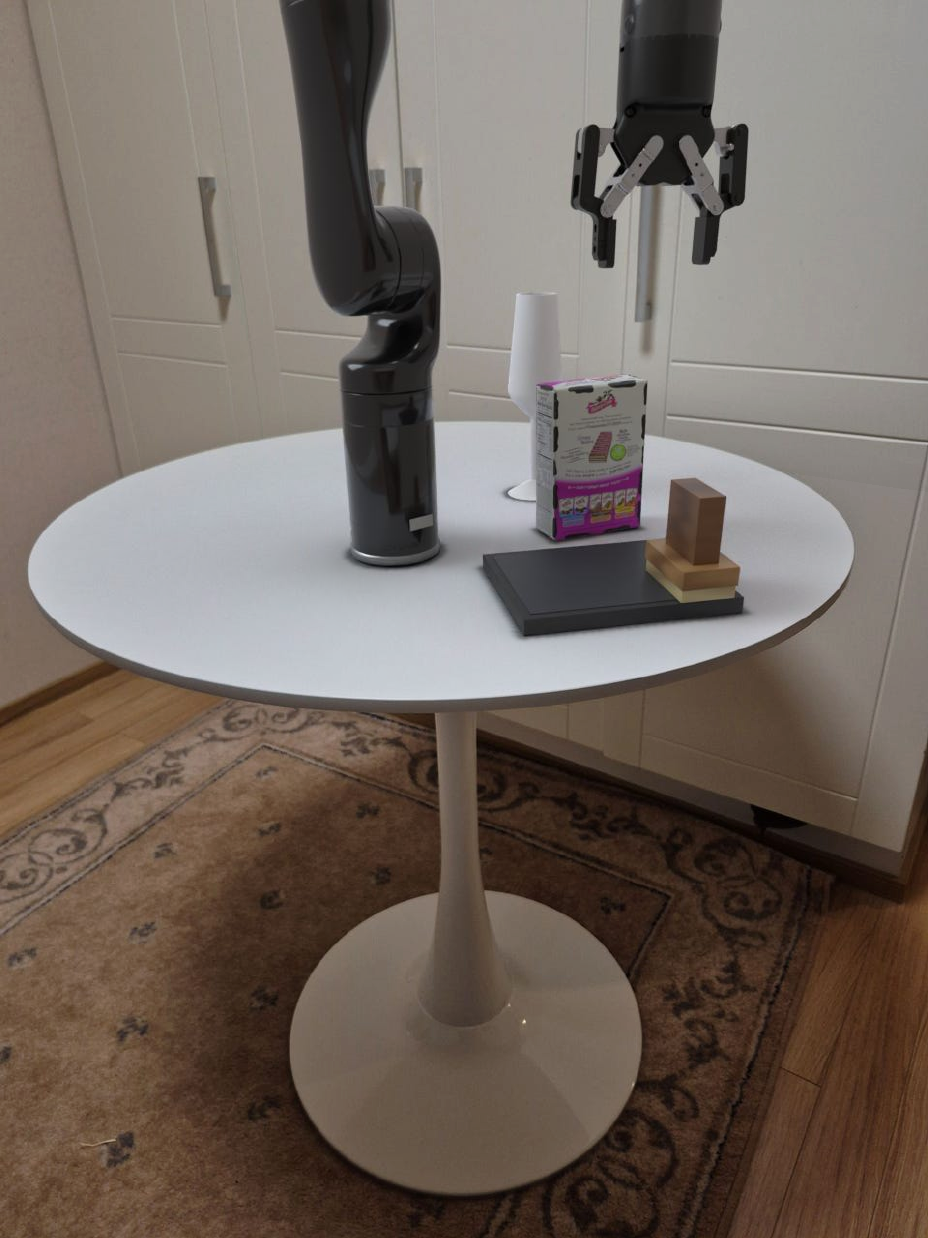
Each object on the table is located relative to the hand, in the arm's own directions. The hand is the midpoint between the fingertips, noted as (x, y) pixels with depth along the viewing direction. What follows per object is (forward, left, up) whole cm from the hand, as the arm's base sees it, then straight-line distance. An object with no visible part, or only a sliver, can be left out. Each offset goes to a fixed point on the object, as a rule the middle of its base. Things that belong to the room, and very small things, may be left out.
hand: (653, 266), depth 73 cm
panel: (+3, -4, -28) cm, 29 cm away
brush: (+7, +3, -26) cm, 28 cm away
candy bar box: (-14, 0, -28) cm, 32 cm away
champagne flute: (-29, -2, -28) cm, 41 cm away
